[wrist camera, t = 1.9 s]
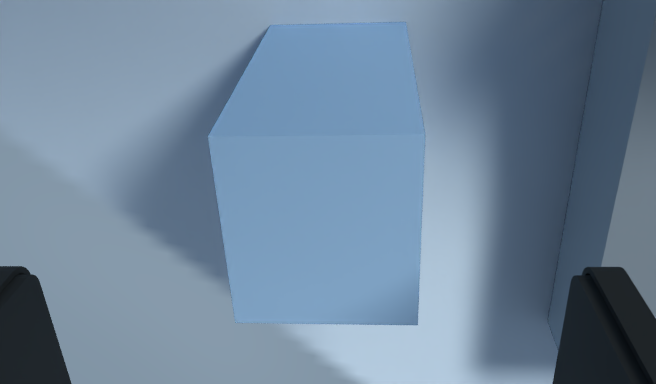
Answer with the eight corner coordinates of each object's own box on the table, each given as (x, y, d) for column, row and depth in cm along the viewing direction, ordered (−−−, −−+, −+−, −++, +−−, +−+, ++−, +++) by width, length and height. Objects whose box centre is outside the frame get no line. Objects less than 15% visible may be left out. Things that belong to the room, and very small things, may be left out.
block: (270, 25, 18) (207, 136, 12) (405, 22, 18) (424, 134, 11) (282, 160, 21) (235, 322, 14) (402, 159, 20) (417, 325, 13)
